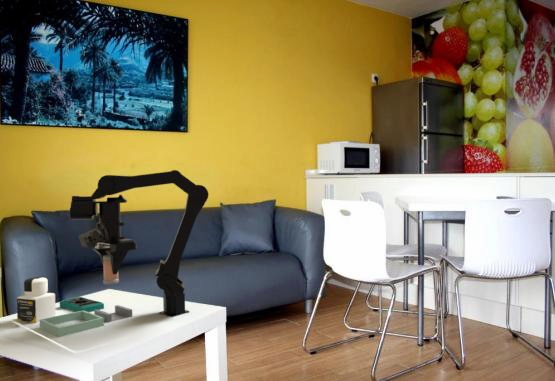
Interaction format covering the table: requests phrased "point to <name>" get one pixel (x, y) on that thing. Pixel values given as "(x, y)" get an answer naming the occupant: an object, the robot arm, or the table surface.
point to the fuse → (109, 272)
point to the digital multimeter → (81, 304)
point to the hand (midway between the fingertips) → (111, 273)
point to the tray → (91, 323)
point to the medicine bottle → (35, 301)
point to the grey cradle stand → (115, 314)
